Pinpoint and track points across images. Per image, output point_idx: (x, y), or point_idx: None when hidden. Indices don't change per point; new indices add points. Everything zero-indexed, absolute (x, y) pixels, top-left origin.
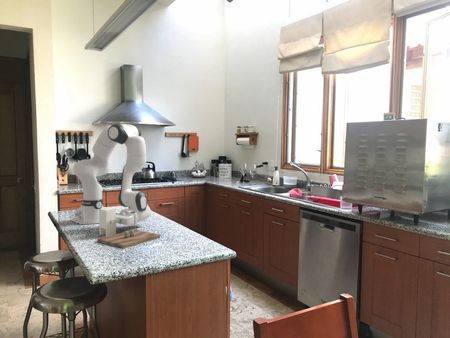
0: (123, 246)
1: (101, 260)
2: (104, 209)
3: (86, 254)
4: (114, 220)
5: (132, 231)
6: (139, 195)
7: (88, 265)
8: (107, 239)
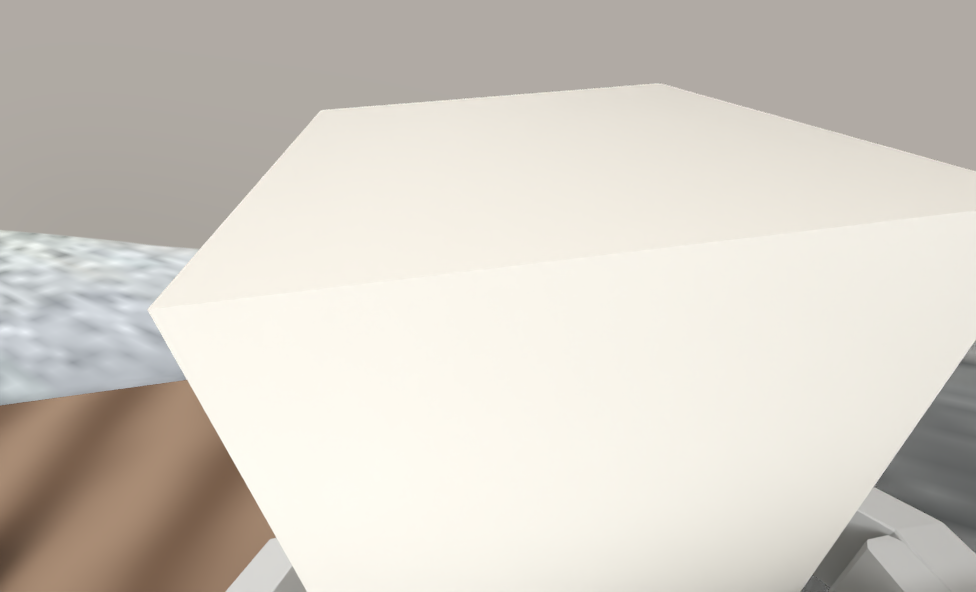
0: None
1: (20, 277)
2: (505, 107)
3: (184, 266)
4: (279, 546)
5: None
6: None
7: (66, 239)
8: (196, 409)
